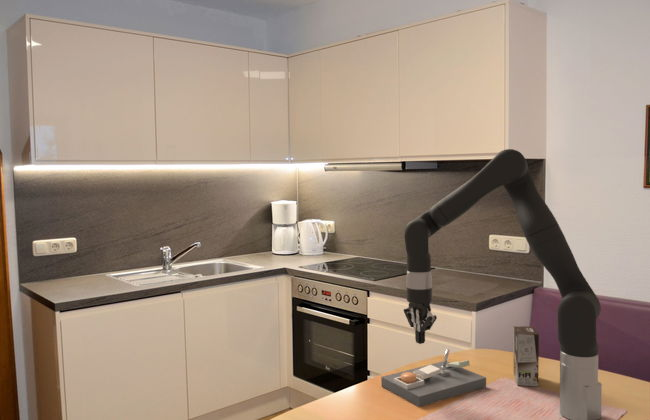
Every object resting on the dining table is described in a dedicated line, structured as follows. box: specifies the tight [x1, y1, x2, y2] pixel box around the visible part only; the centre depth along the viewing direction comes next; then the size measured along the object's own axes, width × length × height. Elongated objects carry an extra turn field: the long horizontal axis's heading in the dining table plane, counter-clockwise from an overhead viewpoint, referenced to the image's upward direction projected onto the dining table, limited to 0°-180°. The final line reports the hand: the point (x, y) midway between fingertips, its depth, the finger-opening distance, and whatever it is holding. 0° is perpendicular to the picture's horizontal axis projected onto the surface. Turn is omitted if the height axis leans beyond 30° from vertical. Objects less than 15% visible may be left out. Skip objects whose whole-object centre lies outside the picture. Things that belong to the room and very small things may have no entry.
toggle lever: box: [441, 348, 450, 371], centre depth 172 cm, size 1×1×7 cm
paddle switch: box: [448, 359, 470, 368], centre depth 175 cm, size 6×4×2 cm, turn 30°
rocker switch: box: [413, 364, 441, 380], centre depth 168 cm, size 4×7×1 cm, turn 120°
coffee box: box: [512, 325, 540, 387], centre depth 172 cm, size 9×6×16 cm
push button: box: [401, 372, 416, 384], centre depth 165 cm, size 4×4×2 cm
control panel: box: [380, 360, 487, 408], centre depth 169 cm, size 18×26×4 cm
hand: (420, 342), depth 166 cm, fingers closed
